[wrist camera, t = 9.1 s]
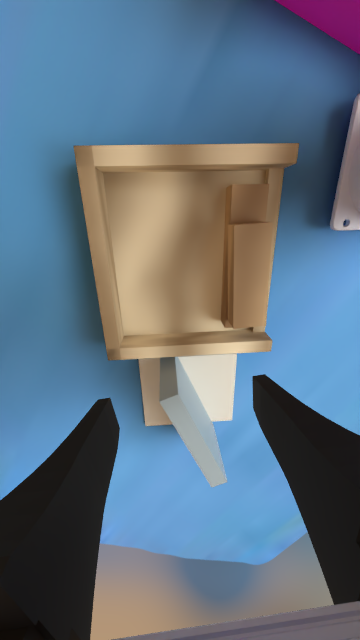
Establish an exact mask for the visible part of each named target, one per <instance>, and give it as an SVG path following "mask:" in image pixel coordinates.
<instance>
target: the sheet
mask: <svg viewBox="0 0 360 640" xmlns="http://www.w3.org/2000/svg"><path fill="white" fill-rule="evenodd" d="M159 402H160V404H161V405H162V407H163V409H164V410H165V412H166V414H167V415H168V417H169V419H170V420H171V422H172V423H173V425H174V427H175V428H176V430H177V432H178V433H179V435H180V436H181V438H182V440H183V441H184V443H185V445H186V446H187V448H188V450H189V451H190V453H191V454H192V456H193V458H194V459H195V461H196V463H197V464H198V466H199V467H200V469H201V471H202V472H203V474H204V476H205V477H206V479H207V481H208V482H209V484H210V485H211V487H214V486H217V485H220V484H223V483H226V482H227V478H226V474H225V470H224V466H223V462H222V458H221V454H220V450H219V446H218V442H217V438H216V433H215V429H214V425H213V423H212V421H211V419H210V417H209V416H208V414H207V412H206V410H205V408H204V406H203V404H202V402H201V400H200V398H199V396H198V394H197V392H196V391H195V389H194V387H193V385H192V383H191V381H190V379H189V377H188V375H187V373H186V371H185V369H184V367H183V366H182V364H181V362H180V360H179V358H178V357H161V358H160V391H159Z"/></svg>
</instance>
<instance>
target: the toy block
mask: <svg viewBox="0 0 360 640" xmlns="http://www.w3.org/2000/svg"><path fill="white" fill-rule="evenodd" d="M275 1H276V2H278V3H279V4H281V5H283V6H284V7H286V8H287V9H289V10H290V11H292V12H294V13H295V14H297V15H298V16H300V17H301V18H303V19H305V20H306V21H308V22H309V23H311V24H312V25H314V26H316V27H317V28H319V29H320V30H322V31H323V32H325V33H327V34H328V35H330V36H331V37H333V38H334V39H336V40H338V41H339V42H341V43H342V44H344V45H345V46H347V47H349V48H350V49H352V50H353V51H355V52H356V53H358V54H360V0H275Z"/></svg>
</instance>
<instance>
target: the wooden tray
mask: <svg viewBox="0 0 360 640" xmlns="http://www.w3.org/2000/svg"><path fill="white" fill-rule="evenodd" d="M298 148H299V143H275V144H187V145H99V146H74V152H75V158H76V165H77V171H78V177H79V183H80V189H81V195H82V202H83V208H84V214H85V220H86V226H87V233H88V239H89V245H90V251H91V257H92V263H93V270H94V276H95V282H96V288H97V294H98V300H99V307H100V313H101V319H102V325H103V331H104V338H105V344H106V350H107V356H108V360H126V359H143V358H161V357H179V356H196V355H214V354H232V353H249V352H267V351H271V346H272V339H271V338H270V337H269V336H268V335H267V334H266V333H265V326H258V327H248V328H238V329H233V328H225V327H224V325H223V324H222V322H221V300H222V276H223V253H224V229H225V206H226V188H227V187H228V186H230V185H235V184H269V193H268V202H267V212H266V222H273V226H272V241H271V257H270V272H269V287H268V299H269V290H270V282H271V274H272V265H273V257H274V249H275V241H276V232H277V224H278V216H279V207H280V199H281V191H282V182H283V174H284V168H286V167H289V166H291V165H293V164H296V163H297V155H298ZM267 307H268V302H267Z"/></svg>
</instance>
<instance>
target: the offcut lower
mask: <svg viewBox="0 0 360 640" xmlns="http://www.w3.org/2000/svg"><path fill="white" fill-rule="evenodd" d="M268 193H269V184H235V185H230V186H228V187H227V188H226V206H225V229H224V253H223V276H222V300H221V322H222V324H223V325H224V327H225V328H232V326H231V325H230V323H229V322H228V225H230V224H242V223H254V222H266V212H267V202H268Z"/></svg>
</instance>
